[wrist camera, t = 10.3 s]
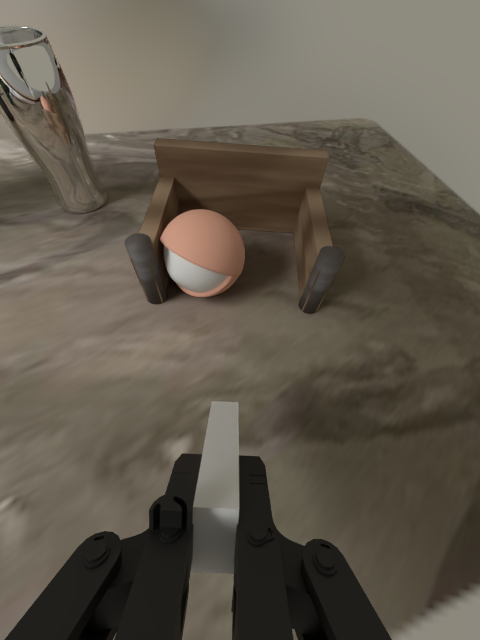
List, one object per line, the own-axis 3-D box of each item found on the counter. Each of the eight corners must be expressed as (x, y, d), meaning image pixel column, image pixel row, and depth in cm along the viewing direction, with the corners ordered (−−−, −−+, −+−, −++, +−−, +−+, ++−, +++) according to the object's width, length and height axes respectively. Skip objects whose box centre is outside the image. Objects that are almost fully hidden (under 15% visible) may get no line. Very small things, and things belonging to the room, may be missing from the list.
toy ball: (152, 282, 28) (130, 217, 21) (205, 246, 31) (199, 180, 24) (207, 326, 25) (201, 268, 18) (257, 281, 28) (267, 218, 22)
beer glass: (71, 182, 37) (-10, 21, 24) (119, 188, 36) (64, 28, 24) (43, 212, 33) (-69, 39, 20) (97, 219, 33) (17, 49, 20)
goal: (319, 314, 26) (357, 244, 19) (144, 303, 26) (112, 227, 18) (306, 226, 34) (329, 150, 26) (170, 217, 33) (154, 137, 26)
